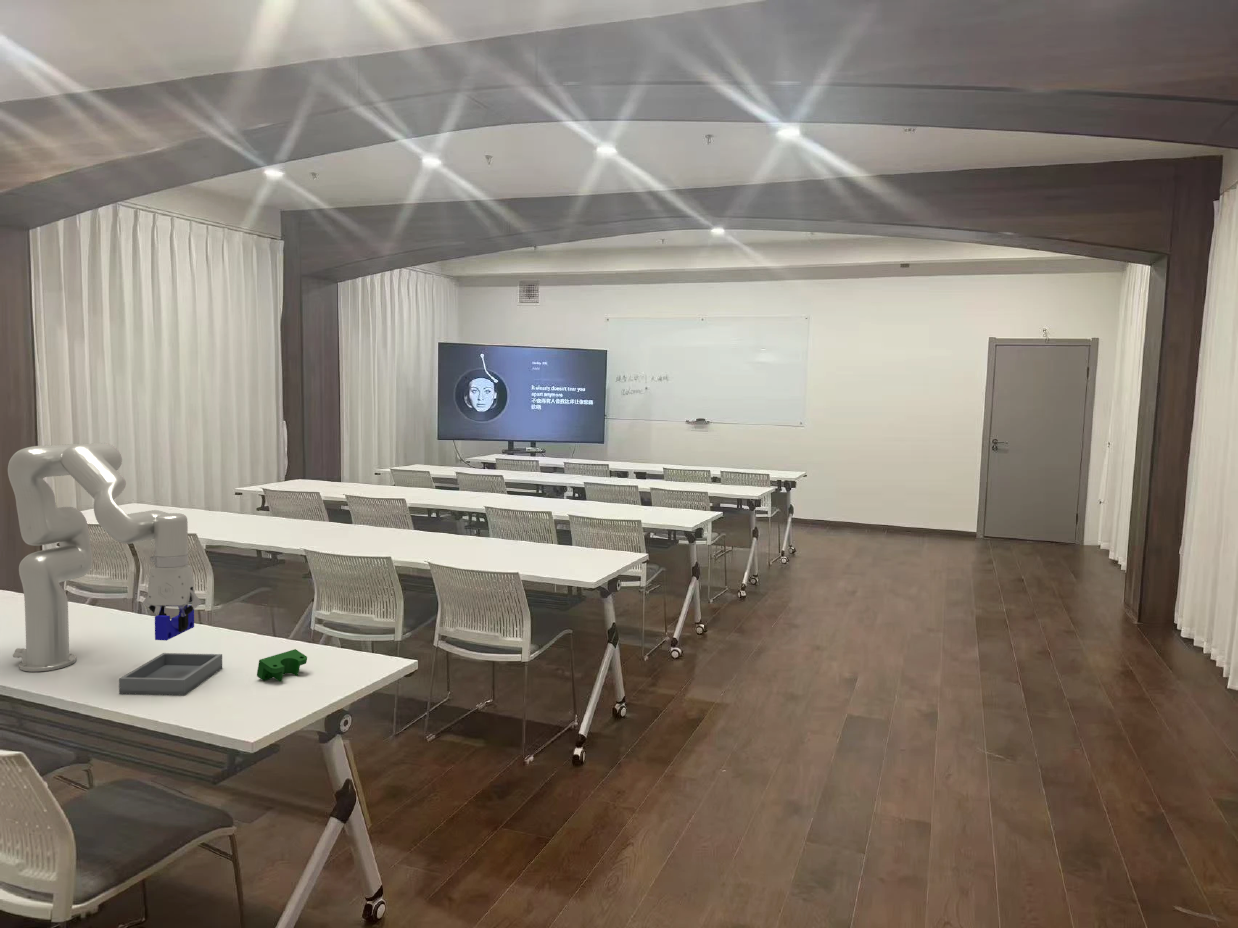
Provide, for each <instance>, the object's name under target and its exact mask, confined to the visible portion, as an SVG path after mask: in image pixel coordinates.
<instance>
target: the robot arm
mask: <svg viewBox="0 0 1238 928" xmlns="http://www.w3.org/2000/svg"><path fill="white" fill-rule="evenodd" d="M122 464H123V458H122V453H121V452H120V450H119V449H118V448H117V447H115V446H114V445H113V444H110V443H106V442H96V443H95V442H94V443H80V444H79V443H73V444H72V443H71V444H54V445H53V444H50V445H49V444H45V445H34V446H29V447H24V448H21V449H19V450H17V451H16V452H15V453H14V454H13V455H12V456H11V457H10V459H9V461H8V464H7V465H8V466H7V476H8V479H9V483H10V485H11V488H12V490H13V493H14V497H15V503H16V504H15V505H16V511H17V516H18V525H19V531H20V534H21V535H20V536H21V539H22V540H23V542H24V543H25V544H26V545H29V546H35V547H36V546H46V545H50V544H51V545H52V544H57V543H58V545H59V547H53V548H48V549H43V550H38V551H35V552H31V553H29V554H27V555H26V556H25V557H23V559H22V560H21V561H20V562H19V566H18V574H19V578H20V582H21V585H22V590H23V596H24V597H23V598H24V618H25V620H24V621H25V623H24V624H25V648H21V647H19V648H18V647H17V648H16V649H15V650H14V653H12V657H13V658H16V659H18V658H21V662H20V663H19V664H18V666H19V670H21V671H24V672H30V673H31V672H32V673H33V672H49V671H54V670H58V669H62V668H65V667H70V665H73V664H75V662H77V656H76V655H75V654H72V653H70V630H69V626H70V625H69V623H70V622H69V600H68V596H67V593H66V592H65V590H64V589H63V588H62V586H61V584H60V583H63V582H67V581H71V580H75V579H79V578H82V577H85V576H86V575H87V574H88V573H90V571H91V569H92V567H93V553H92V546H91V539H90V537H91V536H90V530H89V525H88V521H87V519H86V517H85V514H84V513H82V511H80V510H79V509H77V508H76V507H72V506H60V507H57V503H56V497H55V493H54V490H53V489H52V487H51V486H50V484H49V483H48V482H47V481H46V480H45V478H50V477H52V478H53V477H61V476H62V477H63V476H64V477H65V476H71V478H73V479H74V480H75V482H77V483H78V485H80V486H81V488H82V489H84V490H85V491H86V492H87V493H88V494H89V495H90V496H91V497H92V498H93V513H94V517H95V520H96V522H97V523H98V525H99V526H100V527H101V528H102V529H103V530H104V531H105V532H106V533H107V535H109V536H110V537H111V538H113V539H114V540H115V541H116V542H119V543H121V544H126V545H129V544H135V543H136V544H137V543H140V542H145V541H150V540H152V541H153V540H154V541H153V542H154V543H153V545H154V555H153V556H150V558H149V560H150V562H153V565H154V566H151V568H150V572H149V577H148V584H147V585H148V586H147V595H146V597H145V599H144V600H143V601H142V605H144V606H146V608H149V610H150V611H151V612H152V613H153V615H154V617H155V616H158V615H165V616H168V615H167V613H166V607H177V608H178V610H179V611H180V617H179V618H178V631H179V632H183V631H184V630H186V629H187V627H188V614H190V612H192V611H193V610H194V611H195V609H196V608H197V607H199V606H201V604H202V600H201V599H200V598H199V597H198V595H196V593H195V592H196V591H195V580H194V574H193V570H192V566H191V565H190V564H189V544H188V543H189V541H188V538H189V534H188V533H189V532H188V531H189V530H188V517H187V516H186V515H185V514H183V513H177V512H173V513H172V512H170V513H169V512H166V511H161V510H156V509H155V510H145V511H139V512H133V513H132V512H131V513H126V512H125V511H124V510H123V509H122V508H120V506H119V505H118V504H117V503H116V502H115V499H116V498H117V497H119V496H120V495H121V494H122V493H123V491H124V490H125V488H126V485H127V482H126V479H125V478H124V476H123V475H121V473H119V472H118V471H117V470H119V469H120V468H121V465H122ZM190 603H191V604H190ZM189 605H190V606H189ZM183 633H184V632H183Z"/></svg>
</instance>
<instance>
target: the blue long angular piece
mask: <svg viewBox="0 0 1238 928" xmlns="http://www.w3.org/2000/svg"><path fill="white" fill-rule="evenodd" d="M190 605H191V604H189V606H190ZM179 617H180V611H179V612H178V614H177V615H176V616H173V617H171V616H170V615H167V616H165V615H158V616H155V615H154V640H155V641H165V642H166V641H169V640H171V639H172V638H175V637H176V636H179V635H181V634H182V633H185V632H187V631H189V630H191V629H194V628H195V609H194V610H193V611H192V612H190V614H188V627H187V629H186V630H184V631H183V632H179V631H178V618H179Z"/></svg>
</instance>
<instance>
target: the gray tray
mask: <svg viewBox="0 0 1238 928" xmlns="http://www.w3.org/2000/svg"><path fill="white" fill-rule="evenodd" d="M222 669H223V654H222V653H188V652H187V653H181V652H162V653H161V654H158V655H157V656H155V657H154V658H152V659H150V660H149V661H147V662H145V663H143V664H142V665H140V666H138V667H137V668H134V669H133V670H132V671H129V672H127V673H126V674H124V675H123V676H121V677H120V678H118V690H119V691H118V695H131V696H132V695H133V696H135V695H137V696H138V695H140V696H142V695H143V696H178V697H179V696H183V697H184V696H186V695H187V694H189V693H190V692H192V691H193V690H194V689H196V688H197V687H199V686H200V685H201V684H203V683H205V681H208V679H210V678H211V677H212V676H214V675H215V674H216V673H218V672H219V671H221V670H222Z"/></svg>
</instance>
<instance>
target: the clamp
mask: <svg viewBox="0 0 1238 928" xmlns="http://www.w3.org/2000/svg"><path fill="white" fill-rule="evenodd" d="M307 660H308V656H307V655H305V654H304V653H302V652H300V651H299V650H298V649H296V648H295V649H291V650H287V651H285V652H281V653H277V654H273V655H271V656H267V657H264V658H260V659H258V664H257V665H258V666H257V671H256V677H257V678H258V679H260V680H261V681H264V682H265V681H268V680H271V679H275V680H276V681H277V682H279V683H282V682H283V677H284V675H286V674H289V675H293V676H294V677H298V676H299V673H300V668H301V667H300V666H303V665H305V664H307Z"/></svg>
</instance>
